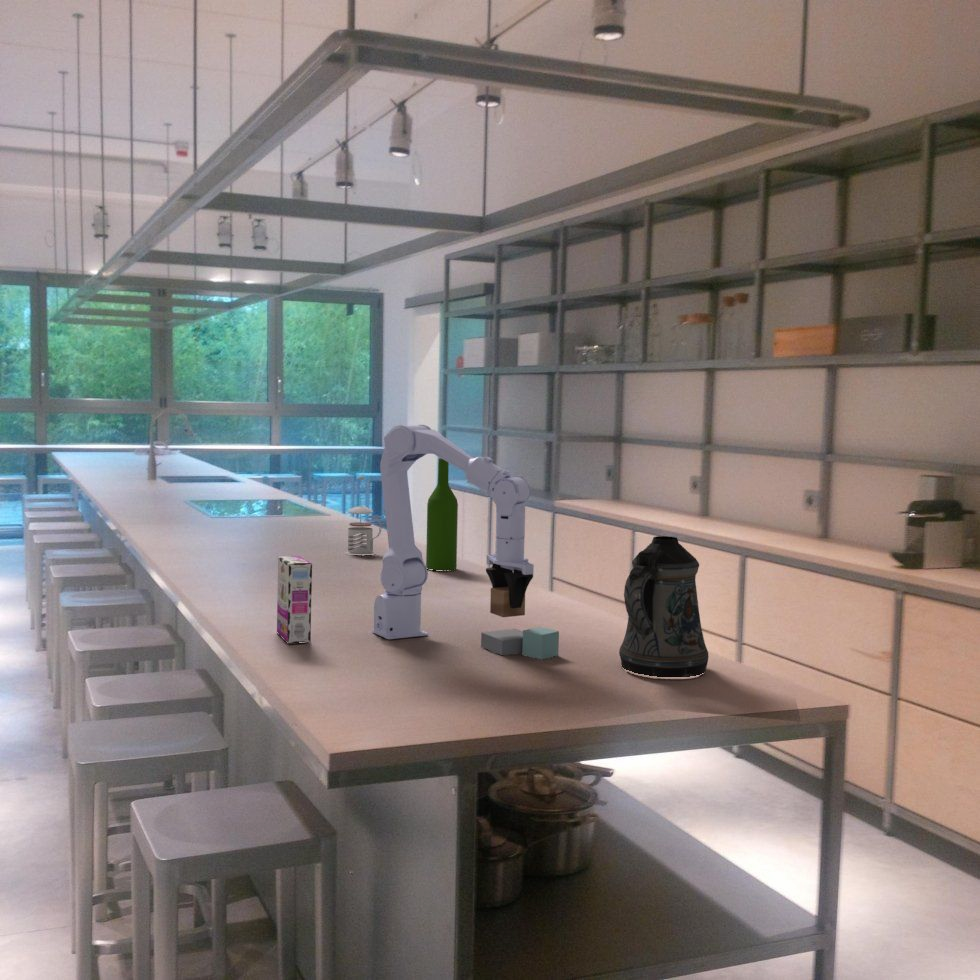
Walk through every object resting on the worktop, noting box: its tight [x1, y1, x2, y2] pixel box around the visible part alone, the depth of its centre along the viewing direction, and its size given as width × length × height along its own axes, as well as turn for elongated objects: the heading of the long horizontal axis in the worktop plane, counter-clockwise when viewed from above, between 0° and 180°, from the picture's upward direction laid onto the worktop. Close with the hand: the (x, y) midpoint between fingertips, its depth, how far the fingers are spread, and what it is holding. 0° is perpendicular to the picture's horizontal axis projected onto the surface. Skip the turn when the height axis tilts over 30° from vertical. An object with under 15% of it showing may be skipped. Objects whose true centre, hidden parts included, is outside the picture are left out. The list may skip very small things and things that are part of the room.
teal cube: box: [521, 626, 560, 660], centre depth 203 cm, size 5×5×5 cm
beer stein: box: [618, 535, 709, 677], centre depth 193 cm, size 16×19×25 cm
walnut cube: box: [489, 587, 526, 618], centre depth 207 cm, size 5×5×5 cm
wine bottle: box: [425, 457, 459, 571], centre depth 304 cm, size 9×9×32 cm
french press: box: [345, 475, 383, 554], centre depth 330 cm, size 10×12×25 cm
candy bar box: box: [276, 555, 313, 643], centre depth 212 cm, size 11×5×16 cm, turn 23°
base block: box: [480, 628, 523, 656], centre depth 208 cm, size 8×8×3 cm
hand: (508, 605), depth 207 cm, fingers closed on walnut cube, 5 cm apart
